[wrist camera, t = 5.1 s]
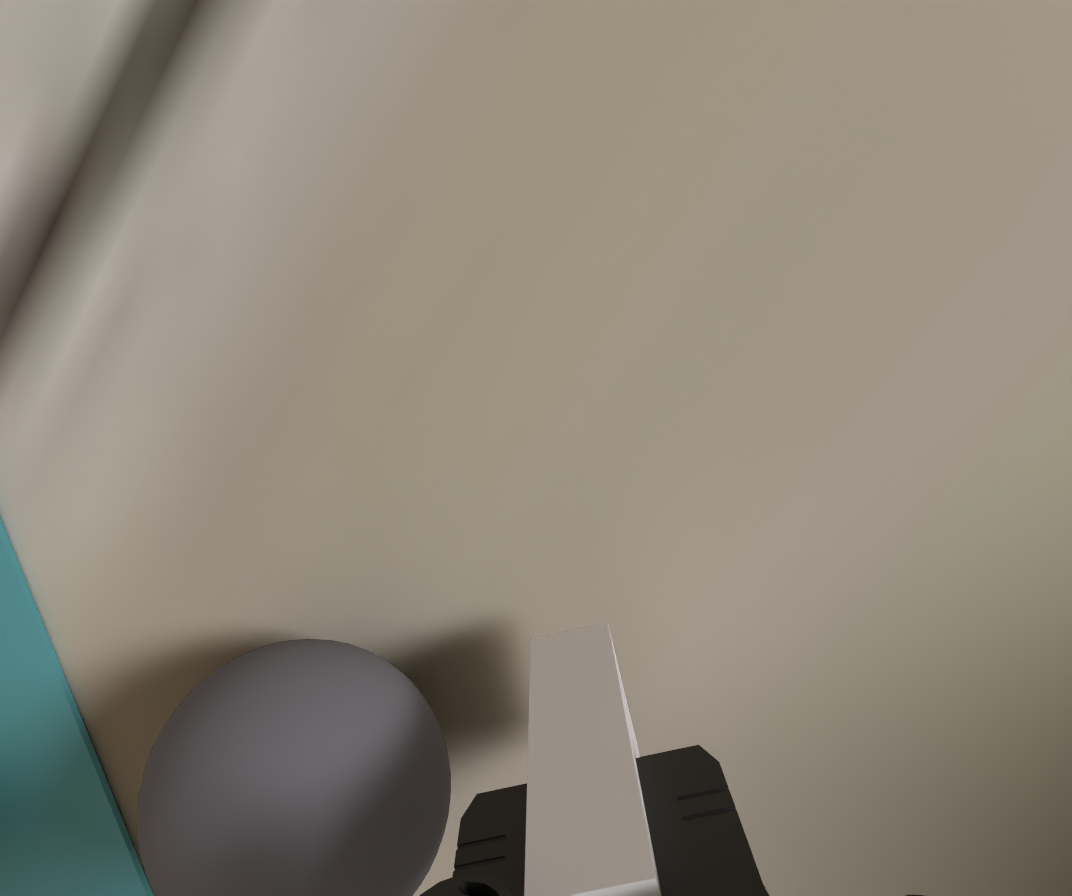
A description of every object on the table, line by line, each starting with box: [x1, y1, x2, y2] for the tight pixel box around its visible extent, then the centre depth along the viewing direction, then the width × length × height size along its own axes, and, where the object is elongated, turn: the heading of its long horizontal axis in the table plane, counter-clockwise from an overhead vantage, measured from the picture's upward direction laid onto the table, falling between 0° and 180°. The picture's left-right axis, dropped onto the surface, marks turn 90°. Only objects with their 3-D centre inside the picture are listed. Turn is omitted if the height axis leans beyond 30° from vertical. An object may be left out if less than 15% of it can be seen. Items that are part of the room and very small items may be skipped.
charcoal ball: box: [137, 639, 451, 896], centre depth 15 cm, size 6×6×6 cm
